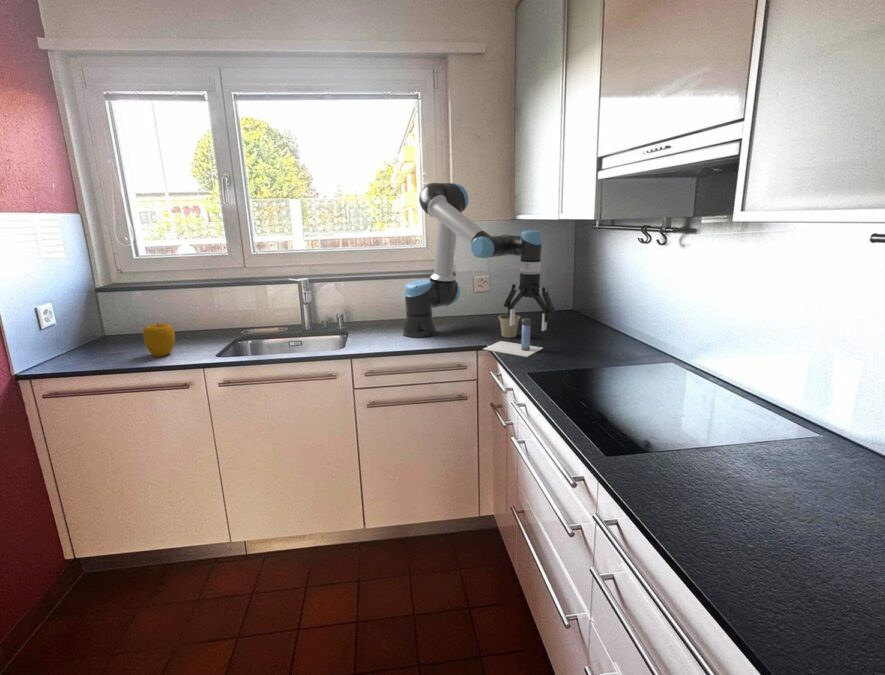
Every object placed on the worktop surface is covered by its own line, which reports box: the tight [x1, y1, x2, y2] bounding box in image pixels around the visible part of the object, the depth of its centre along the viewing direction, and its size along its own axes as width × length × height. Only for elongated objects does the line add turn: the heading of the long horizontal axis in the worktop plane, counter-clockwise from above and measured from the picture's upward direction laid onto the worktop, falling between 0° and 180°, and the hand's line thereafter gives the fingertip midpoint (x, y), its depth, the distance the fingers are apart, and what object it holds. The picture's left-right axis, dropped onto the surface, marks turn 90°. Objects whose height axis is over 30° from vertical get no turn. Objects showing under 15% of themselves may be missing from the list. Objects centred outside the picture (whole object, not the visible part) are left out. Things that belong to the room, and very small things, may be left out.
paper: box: [482, 340, 544, 358], centre depth 187 cm, size 19×14×1 cm
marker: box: [520, 317, 532, 351], centre depth 184 cm, size 3×3×12 cm
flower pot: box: [498, 314, 522, 339], centre depth 206 cm, size 9×9×9 cm
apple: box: [142, 322, 176, 358], centre depth 187 cm, size 11×11×13 cm
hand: (527, 327), depth 185 cm, fingers open, 13 cm apart
